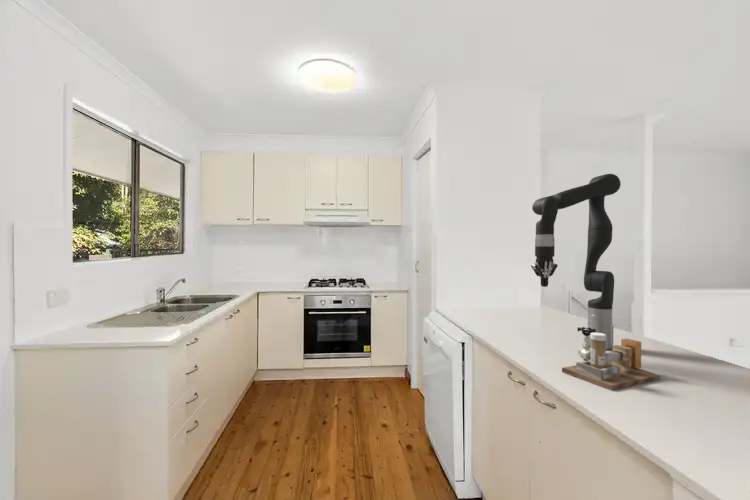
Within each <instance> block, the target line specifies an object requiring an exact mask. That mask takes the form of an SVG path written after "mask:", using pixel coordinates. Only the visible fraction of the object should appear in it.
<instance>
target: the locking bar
mask: <svg viewBox="0 0 750 500" xmlns="http://www.w3.org/2000/svg"><path fill="white" fill-rule="evenodd" d="M620 342H621V343H620V346H624V347H628V348H631V367H632V368H635V369H636V368H638V369H642V341H639V340H636V339H635V340H634V339H630V338H621V340H620ZM619 359H623V353H622V352H619V351H617V352H612V351H611V352H606V361H613V360H619Z"/></svg>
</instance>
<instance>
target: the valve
mask: <svg viewBox="0 0 750 500" xmlns="http://www.w3.org/2000/svg"><path fill="white" fill-rule="evenodd" d="M580 331H581V334H582V335H583V336H584V337H583V343H581V347H580V348H578V349H577V352H578V353H577V354H578V355H579V356H580V357H581V358H582V359H583V360H584V361H588V360H591V345H589V343H588V342H589V338H588V336H589V335H591V333H596V329H591V328H588V327H585V326H582V327H577V332H580Z"/></svg>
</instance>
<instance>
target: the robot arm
mask: <svg viewBox="0 0 750 500" xmlns="http://www.w3.org/2000/svg"><path fill="white" fill-rule="evenodd" d="M621 183H622V182H621V180H620V177H618V176H617V174H613V173H605V174H603V175H598V176H594V177H592V178H591V179H590V181H589V182H588V184H585V185H580V186H576V187H573V188H569V189H567V190H563V191H560V192H558V193H555V194H552V195H548V196H544V197H541V198H537V199H536V200H535V201H533V202H532V211H533V213H535V214H536V215H538V216H541V218H540V220H538V221H537V222H536V224H535V239H534V256H535V257H536V259H535V263H534V264H531V269H532V271H534V273H535V275H536V276H537V277H540V286H541V287H545V288H546V287H548V286H549V277H552V276H553V275H554V273H555V271H556V270H557V268H558V264H557V263H555V262H554V259H553V258H554V257H555V243H556V242H555V222H556V220H557V215H558V212H559V210H562V209H566V208H569V207H572V206H574V205H577V204H580V203H582V202H585V201H587V200H588V228H587V247H586V249H587V251H586V262H585V268H584V275H583V286H584V289H585V290H586V291H588V292H595V293H596V292H597V293H601V295H600V296H599V297H597V298H594V299H593V298H592V299H590V300H588V301H587V328H591V329H596V333H603V334H605V335H606V342H605V351H606V350H607V351H608V350H612V349H613V346H614V325H613V303H614V291H615V276H614V274H613V272H612V271H608V270H597V266H598V262H599V260H600V259H601V257H602V255H603V254H604V253H605V252H606V251H607V249H608V248H609V247H610V245H611V243H612V242H613V241H612V239H613V222H612V221H611V219H610V217H609V215H608V213H607V212H606V207H605V198H606V197H607V196H612V195H614V194H616V193H617V192H618V191H619V190H620V189H621V185H622V184H621ZM588 338H589V342H588V343H589V345H591V338H590V335H589V336H588Z"/></svg>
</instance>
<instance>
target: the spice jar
mask: <svg viewBox="0 0 750 500" xmlns="http://www.w3.org/2000/svg"><path fill="white" fill-rule="evenodd" d="M590 338H591V348H590V351H591V366H592V367H595V368H598V369H603V368H605V364H606V353H607V351H606V350H605V342H606V335H605V334H603V333H591V335H590Z"/></svg>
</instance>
